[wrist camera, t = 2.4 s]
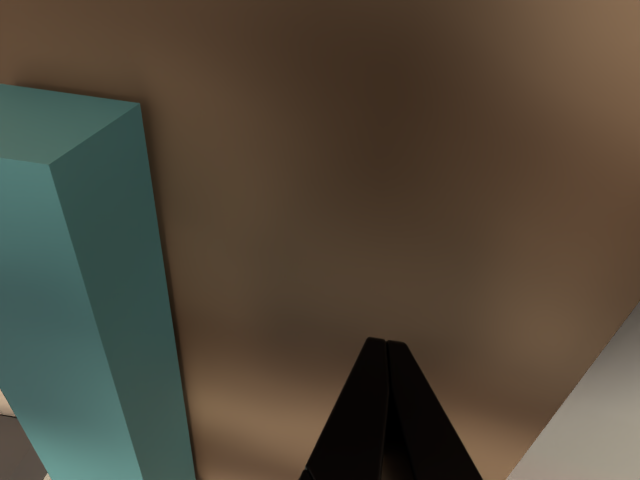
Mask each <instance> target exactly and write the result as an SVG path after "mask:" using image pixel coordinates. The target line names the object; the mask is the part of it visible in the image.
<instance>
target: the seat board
mask: <svg viewBox="0 0 640 480" xmlns="http://www.w3.org/2000/svg"><path fill="white" fill-rule="evenodd" d="M0 84H6V85H14V86H21V87H28V88H35V89H42V90H49V91H56V92H64V93H71V94H78V95H85V96H92V97H99V98H106V99H114V100H121V101H128V102H135V103H140V107H141V113H142V120H143V127H144V134H145V140H146V147H147V154H148V161H149V167H150V174H151V181H152V188H153V194H154V201H155V208H156V215H157V222H158V228H159V235H160V242H161V249H162V255H163V262H164V269H165V276H166V282H167V289H168V296H169V303H170V309H171V316H172V323H173V330H174V336H175V343H176V350H177V357H178V363H179V370H180V377H181V384H182V390H183V397H184V404H185V411H186V418H187V424H188V431H189V438H190V445H191V451H192V458H193V465H194V472H195V478H196V480H298V479H299V477H300V475H301V473H302V471H303V470H304V469H305V465H306V463H307V461H308V459H309V457H310V455H311V453H312V451H313V449H314V447H315V445H316V442H317V440H318V438H319V436H320V434H321V432H322V430H323V428H324V426H325V424H326V422H327V420H328V417H329V415H330V413H331V411H332V409H333V407H334V405H335V403H336V401H337V399H338V397H339V395H340V392H341V390H342V388H343V386H344V384H345V382H346V380H347V378H348V376H349V374H350V372H351V370H352V367H353V365H354V363H355V361H356V359H357V357H358V355H359V353H360V351H361V349H362V347H363V345H364V342H365V340H366V339H367V338H368V337H376V338H382V339H385V341H387V340H395V341H401V342H405V343H406V344H407V345H408V347H409V349H410V351H411V352H412V354H413V356H414V358H415V360H416V361H417V363H418V365H419V367H420V368H421V370H422V372H423V374H424V375H425V377H426V379H427V381H428V383H429V384H430V386H431V388H432V390H433V391H434V393H435V395H436V397H437V399H438V400H439V402H440V404H441V406H442V407H443V409H444V411H445V413H446V414H447V416H448V418H449V420H450V422H451V423H452V425H453V427H454V429H455V430H456V432H457V434H458V436H459V437H460V439H461V441H462V443H463V445H464V446H465V448H466V450H467V452H468V453H469V455H470V457H471V459H472V460H473V462H474V464H475V466H476V468H477V469H478V471H479V473H480V475H481V476H482V478H483V480H506V478H507V477H508V476H509V474H510V473H511V472H512V470H513V469H514V468H515V466H516V465H517V464H518V462H519V461H520V460H521V458H522V457H523V456H524V454H525V453H526V452H527V450H528V449H529V448H530V446H531V445H532V444H533V442H534V441H535V440H536V438H537V437H538V436H539V434H540V433H541V432H542V430H543V429H544V428H545V426H546V425H547V424H548V422H549V421H550V420H551V418H552V417H553V416H554V414H555V413H556V412H557V410H558V409H559V408H560V406H561V405H562V404H563V402H564V401H565V400H566V398H567V397H568V396H569V394H570V393H571V392H572V390H573V389H574V388H575V386H576V385H577V384H578V382H579V381H580V380H581V378H582V377H583V376H584V374H585V373H586V372H587V370H588V369H589V368H590V366H591V365H592V364H593V362H594V361H595V360H596V358H597V357H598V356H599V354H600V353H601V352H602V350H603V349H604V348H605V346H606V345H607V344H608V342H609V341H610V340H611V338H612V337H613V336H614V334H615V333H616V332H617V330H618V329H619V328H620V326H621V325H622V324H623V322H624V321H625V320H626V318H627V317H628V316H629V314H630V313H631V312H632V310H633V309H634V308H635V306H636V305H637V304H638V302H639V301H640V0H0Z"/></svg>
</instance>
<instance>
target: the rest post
mask: <svg viewBox="0 0 640 480" xmlns="http://www.w3.org/2000/svg"><path fill="white" fill-rule="evenodd" d="M47 473H48V472H47V470H46V469H45V467H44V465H43V463H42V461H41V460H40V458H39V456H38V454H37V453H36V451H35V449H34V447H33V446H32V444H31V442H30V440H29V439H28V437H27V435H26V433H25V431H24V430H23V428H22V426H21V424H20V423H19V421H18V419H17V418H13V417H7V416H1V415H0V480H43V479H44V477H45V476H46V474H47Z"/></svg>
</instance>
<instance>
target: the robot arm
mask: <svg viewBox="0 0 640 480" xmlns="http://www.w3.org/2000/svg"><path fill="white" fill-rule="evenodd" d="M298 480H483V478H482V476H481V475H480V473H479V471H478V469H477V468H476V466H475V464H474V462H473V460H472V459H471V457H470V455H469V453H468V452H467V450H466V448H465V446H464V445H463V443H462V441H461V439H460V437H459V436H458V434H457V432H456V430H455V429H454V427H453V425H452V423H451V422H450V420H449V418H448V416H447V414H446V413H445V411H444V409H443V407H442V406H441V404H440V402H439V400H438V399H437V397H436V395H435V393H434V391H433V390H432V388H431V386H430V384H429V383H428V381H427V379H426V377H425V375H424V374H423V372H422V370H421V368H420V367H419V365H418V363H417V361H416V360H415V358H414V356H413V354H412V352H411V351H410V349H409V347H408V345H407V344H406V343H405V342H401V341H395V340H387V341H385V339H382V338H376V337H368V338H367V339H366V340H365V342H364V345H363V347H362V349H361V351H360V353H359V355H358V357H357V359H356V361H355V363H354V365H353V367H352V370H351V372H350V374H349V376H348V378H347V380H346V382H345V384H344V386H343V388H342V390H341V392H340V395H339V397H338V399H337V401H336V403H335V405H334V407H333V409H332V411H331V413H330V415H329V417H328V420H327V422H326V424H325V426H324V428H323V430H322V432H321V434H320V436H319V438H318V440H317V442H316V445H315V447H314V449H313V451H312V453H311V455H310V457H309V459H308V461H307V463H306V465H305V469H304V470H303V471H302V473H301V475H300V477H299V479H298Z"/></svg>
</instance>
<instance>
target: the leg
mask: <svg viewBox="0 0 640 480" xmlns="http://www.w3.org/2000/svg"><path fill="white" fill-rule="evenodd" d="M0 389H1V391H2V393H3V394H4V396H5V398H6V400H7V401H8V403H9V405H10V407H11V408H12V410H13V412H14V414H15V416H16V417H17V419H18V421H19V423H20V424H21V426H22V428H23V430H24V431H25V433H26V435H27V437H28V439H29V440H30V442H31V444H32V446H33V447H34V449H35V451H36V453H37V454H38V456H39V458H40V460H41V461H42V463H43V465H44V467H45V469H46V470H47V472H48V474H49V476H50V477H51V479H52V480H196V478H195V472H194V465H193V458H192V451H191V445H190V438H189V431H188V424H187V418H186V411H185V404H184V397H183V390H182V384H181V377H180V370H179V363H178V357H177V350H176V343H175V336H174V330H173V323H172V316H171V309H170V303H169V296H168V289H167V282H166V276H165V269H164V262H163V255H162V249H161V242H160V235H159V228H158V222H157V215H156V208H155V201H154V194H153V188H152V181H151V174H150V167H149V161H148V154H147V147H146V140H145V134H144V127H143V120H142V113H141V107H140V103H135V102H128V101H121V100H114V99H106V98H99V97H92V96H85V95H78V94H71V93H64V92H56V91H49V90H42V89H35V88H28V87H21V86H14V85H6V84H0Z"/></svg>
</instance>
